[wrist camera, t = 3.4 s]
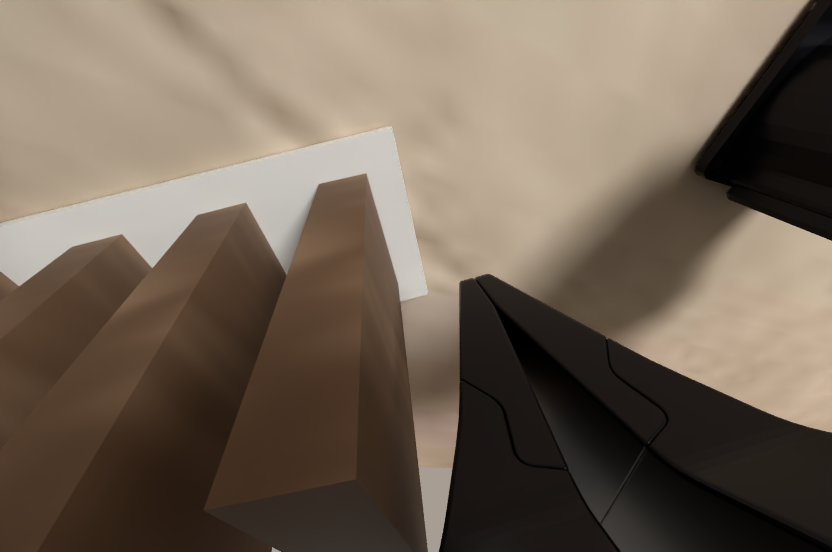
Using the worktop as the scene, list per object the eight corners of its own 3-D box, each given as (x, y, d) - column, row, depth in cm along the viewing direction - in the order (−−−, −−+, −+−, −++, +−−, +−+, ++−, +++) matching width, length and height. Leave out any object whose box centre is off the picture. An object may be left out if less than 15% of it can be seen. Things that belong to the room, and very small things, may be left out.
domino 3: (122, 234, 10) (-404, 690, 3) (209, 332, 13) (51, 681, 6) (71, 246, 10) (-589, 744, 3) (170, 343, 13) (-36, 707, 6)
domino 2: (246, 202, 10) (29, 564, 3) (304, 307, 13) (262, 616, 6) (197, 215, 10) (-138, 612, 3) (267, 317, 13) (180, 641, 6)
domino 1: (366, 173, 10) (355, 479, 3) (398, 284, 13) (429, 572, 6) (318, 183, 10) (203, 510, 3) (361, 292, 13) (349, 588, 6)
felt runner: (390, 125, 10) (392, 128, 10) (426, 288, 14) (428, 294, 14) (-265, 288, 9) (-286, 297, 9) (-21, 409, 14) (-30, 418, 13)
